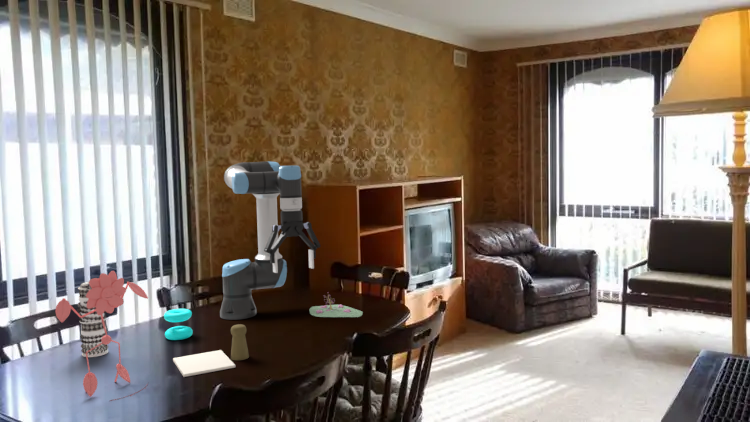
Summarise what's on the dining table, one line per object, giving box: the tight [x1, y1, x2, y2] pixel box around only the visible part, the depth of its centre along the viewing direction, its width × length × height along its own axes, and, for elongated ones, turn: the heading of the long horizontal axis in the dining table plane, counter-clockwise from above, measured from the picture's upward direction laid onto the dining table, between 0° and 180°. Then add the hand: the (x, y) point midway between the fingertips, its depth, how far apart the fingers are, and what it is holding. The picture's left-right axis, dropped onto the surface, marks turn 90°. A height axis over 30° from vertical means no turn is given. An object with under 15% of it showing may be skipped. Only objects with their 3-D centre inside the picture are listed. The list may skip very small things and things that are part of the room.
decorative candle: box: [76, 281, 109, 358], centre depth 212 cm, size 9×9×25 cm
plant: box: [309, 291, 364, 318], centre depth 262 cm, size 25×21×9 cm
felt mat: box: [172, 349, 236, 378], centre depth 199 cm, size 18×16×1 cm
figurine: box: [54, 270, 149, 402], centre depth 175 cm, size 15×26×35 cm, turn 143°
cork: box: [230, 323, 250, 361], centre depth 204 cm, size 6×6×11 cm
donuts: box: [163, 308, 194, 341], centre depth 230 cm, size 10×10×10 cm
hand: (293, 270), depth 215 cm, fingers open, 13 cm apart
